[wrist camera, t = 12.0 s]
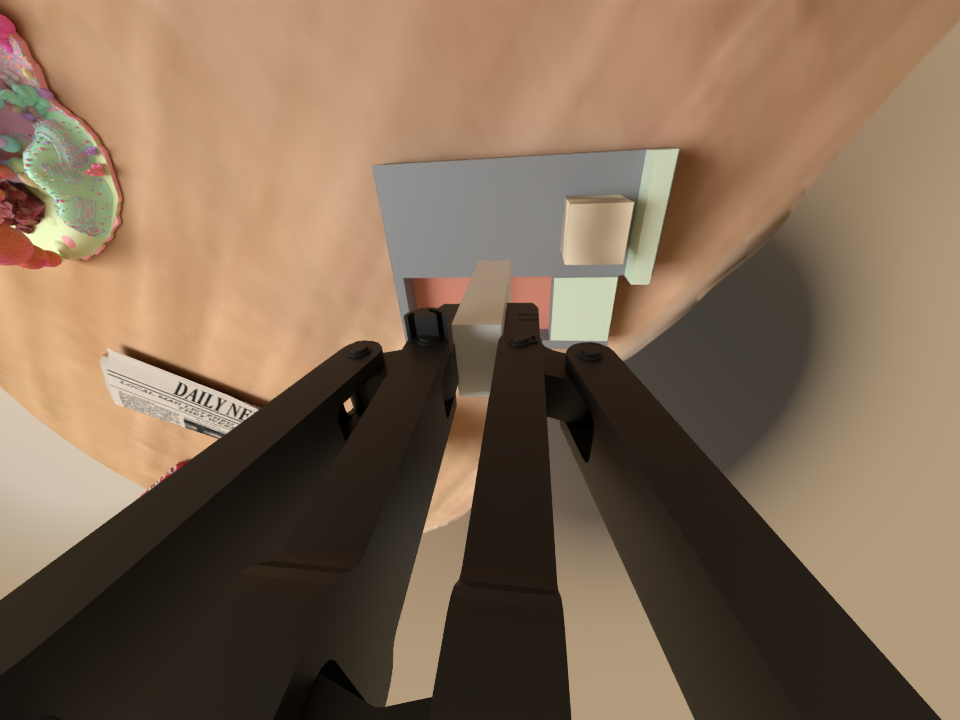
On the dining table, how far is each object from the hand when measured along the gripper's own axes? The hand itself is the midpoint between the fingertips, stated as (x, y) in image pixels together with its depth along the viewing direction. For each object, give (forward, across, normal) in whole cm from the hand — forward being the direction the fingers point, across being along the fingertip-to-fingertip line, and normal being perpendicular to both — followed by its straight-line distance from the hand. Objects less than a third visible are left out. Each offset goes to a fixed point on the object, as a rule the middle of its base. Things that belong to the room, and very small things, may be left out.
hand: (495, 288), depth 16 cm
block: (+17, +7, 0) cm, 18 cm away
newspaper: (+21, -44, -27) cm, 56 cm away
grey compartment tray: (+20, +1, -4) cm, 20 cm away
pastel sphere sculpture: (+21, -52, +10) cm, 57 cm away
